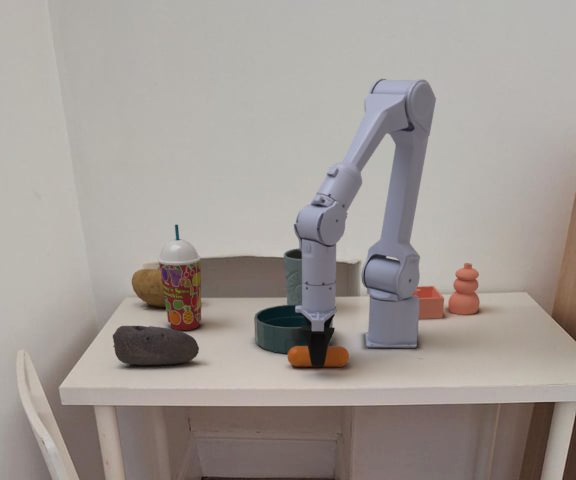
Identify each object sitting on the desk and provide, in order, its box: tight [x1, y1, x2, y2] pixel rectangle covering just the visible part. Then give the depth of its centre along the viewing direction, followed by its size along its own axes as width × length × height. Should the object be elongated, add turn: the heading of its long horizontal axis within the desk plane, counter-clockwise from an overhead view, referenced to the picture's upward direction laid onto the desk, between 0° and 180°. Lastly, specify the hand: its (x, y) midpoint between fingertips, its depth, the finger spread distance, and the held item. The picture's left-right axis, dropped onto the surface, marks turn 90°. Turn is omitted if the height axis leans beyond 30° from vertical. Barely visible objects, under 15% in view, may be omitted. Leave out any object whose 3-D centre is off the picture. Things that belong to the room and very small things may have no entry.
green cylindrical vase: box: [283, 247, 302, 305], centre depth 161 cm, size 10×10×12 cm
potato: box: [131, 268, 166, 308], centre depth 166 cm, size 10×14×8 cm
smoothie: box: [157, 224, 202, 331], centre depth 150 cm, size 8×8×20 cm
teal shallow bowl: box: [253, 304, 334, 354], centre depth 145 cm, size 15×15×5 cm
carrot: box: [287, 345, 350, 368], centre depth 133 cm, size 11×4×4 cm, turn 87°
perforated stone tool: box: [112, 325, 200, 366], centre depth 134 cm, size 15×5×7 cm, turn 88°
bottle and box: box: [412, 262, 481, 320], centre depth 159 cm, size 18×10×10 cm, turn 93°
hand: (318, 358), depth 134 cm, fingers open, 7 cm apart
